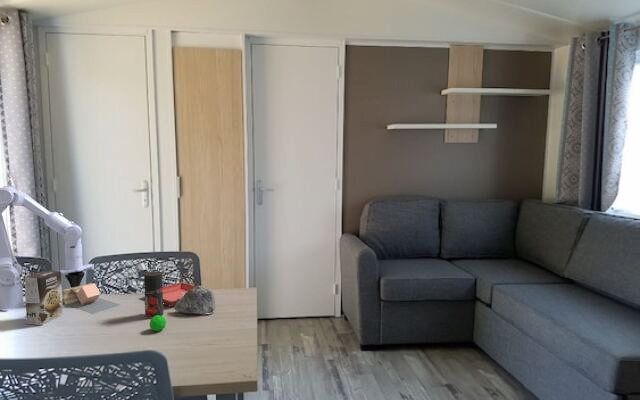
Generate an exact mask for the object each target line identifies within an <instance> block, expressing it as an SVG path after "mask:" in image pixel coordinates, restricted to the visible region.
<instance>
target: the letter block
mask: <svg viewBox="0 0 640 400" xmlns="http://www.w3.org/2000/svg"><path fill="white" fill-rule="evenodd" d="M77 295H78V297H79V299H80V301H81V303H82V305H84V304H88V303H91V302H95V301H96V300H97V298H100V295H101V292H100V290H99V289H98V287H97V284H96V283H94V282H93V284H90V285H86V286H82V287H81V289H80V290H79V291H78V293H77Z"/></svg>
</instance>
